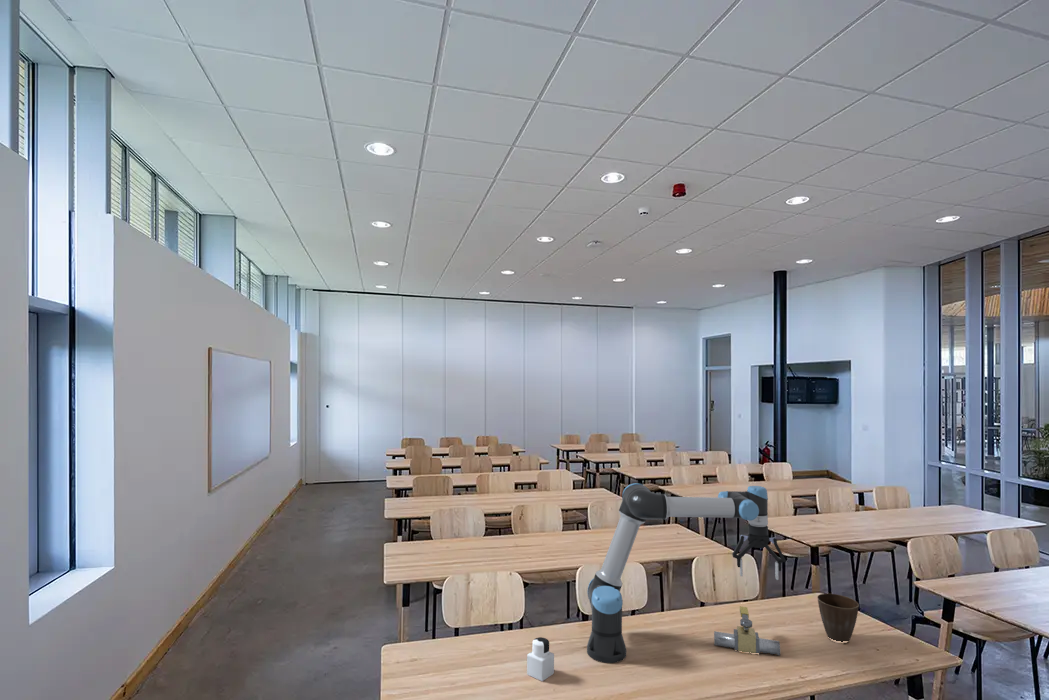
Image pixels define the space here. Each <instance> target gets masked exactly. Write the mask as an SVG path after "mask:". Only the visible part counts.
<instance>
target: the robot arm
mask: <svg viewBox="0 0 1049 700" xmlns="http://www.w3.org/2000/svg"><path fill="white" fill-rule="evenodd" d="M621 499H622V501H621V503H620V506H619V509H618V513H619V515H620V517H619V519H618V523H617V525H616V528H615V530H614V534H613V536H612V539H611V542H610V544H609V547H608V550H607V552H606V555H605V558H604V560H603V564H602V566H601V568H600V570H597V571H595V574H594V577H593V578H592V579H591V580H590V582H589V583H588V586H587V598H588V601H589V605H590V608H591V632H590V635H589V637H588V638H589V639H588V641H587V644H586V653H587V656H589V657H590V658H591V659H593V660H595V661H597V662H600V663H607V664H611V663H612V664H613V663H619V662H622V661H624V660H625V659H626V657H627V646H626V643H625V640H624V637H623V605H624V603H623V596H622V593H621V589H622V586H623V582H622V580H621V579H622V575H623V573H624V570H625V567H626V564H627V561H628V559H629V557H630V554H631V551H632V548H633V547H634V546H633V545H634V543H635V541H636V538H637V534H638V532H639V529H640V527H641V525H642V524H644V523H646V521H647V520H667V519H668V518H669V517H671V518H727V519H728V518H730V519H731V518H733V519H743V520H745V521H747V522H748V526H747V527H748V529H747V530H748V533H747V534H748V535H744V534H742V533H741V534H740V536H739V540H738V542H737V544H736V546H735V548H734V550H733V552H732V554H731V555H732V557H733V558H734V559H736V566H737V568H739V575H740V577H743V575H744V574H743V573H744V572H743V557H744V556H745V555H746V554H747V553H748V552H749V551H750V550H751V549H753V548H755V549H764V548H765V549H766V550H767V552H768V553H769V554H770V555H771V557H773V559H775V562H774V570H775V572H774V574H775V575H774V576H775V577H774V578H775V580H776V581H778V580H779V579H780V578H779V572H781V571H782V564H783V563H787V560H786V558H785V556H784V553H783V552H782V551H781V549H780V546H779V545H778V540H777V538H776V537H775V536H773V537H769V526H768V525H769V517H768V516H769V514H768V511H769V510H768V503H769V502H768V500H769V498H768V490H767V488H766V487H764V486H760V485H749V486H748V487H747V491H746V490H745V491H735V490H734V491H733V490H726V491H725V490H724V491H723V490H722V491H720V492H719V493H718V495H717V497H707V496H706V497H704V496H703V497H702V496H701V497H700V496H696V497H695V496H694V497H692V496H683V497H682V496H667V495H666V494H665V493H656V492H652V491H651V490H650V489H649V488H648V487H647V486H645V485H644V484H642V483H635V482H634V483H630V484H628V485H627V486H626V487H625V488H624V489H623V491H622V496H621ZM746 540H747V541H748V543H747V545H745V547H744V548H742V546H743V545H744V542H746ZM769 542H771V544H773V545H774V547H775V549H776V551H777V553H778V554H779V556H780V558H779V556H778V555H777V554H776V553H775V552H774V551H773V549H772V548H771V547H770V546H769ZM741 548H742V549H741ZM740 550H741V551H740ZM739 551H740V552H739Z"/></svg>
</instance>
